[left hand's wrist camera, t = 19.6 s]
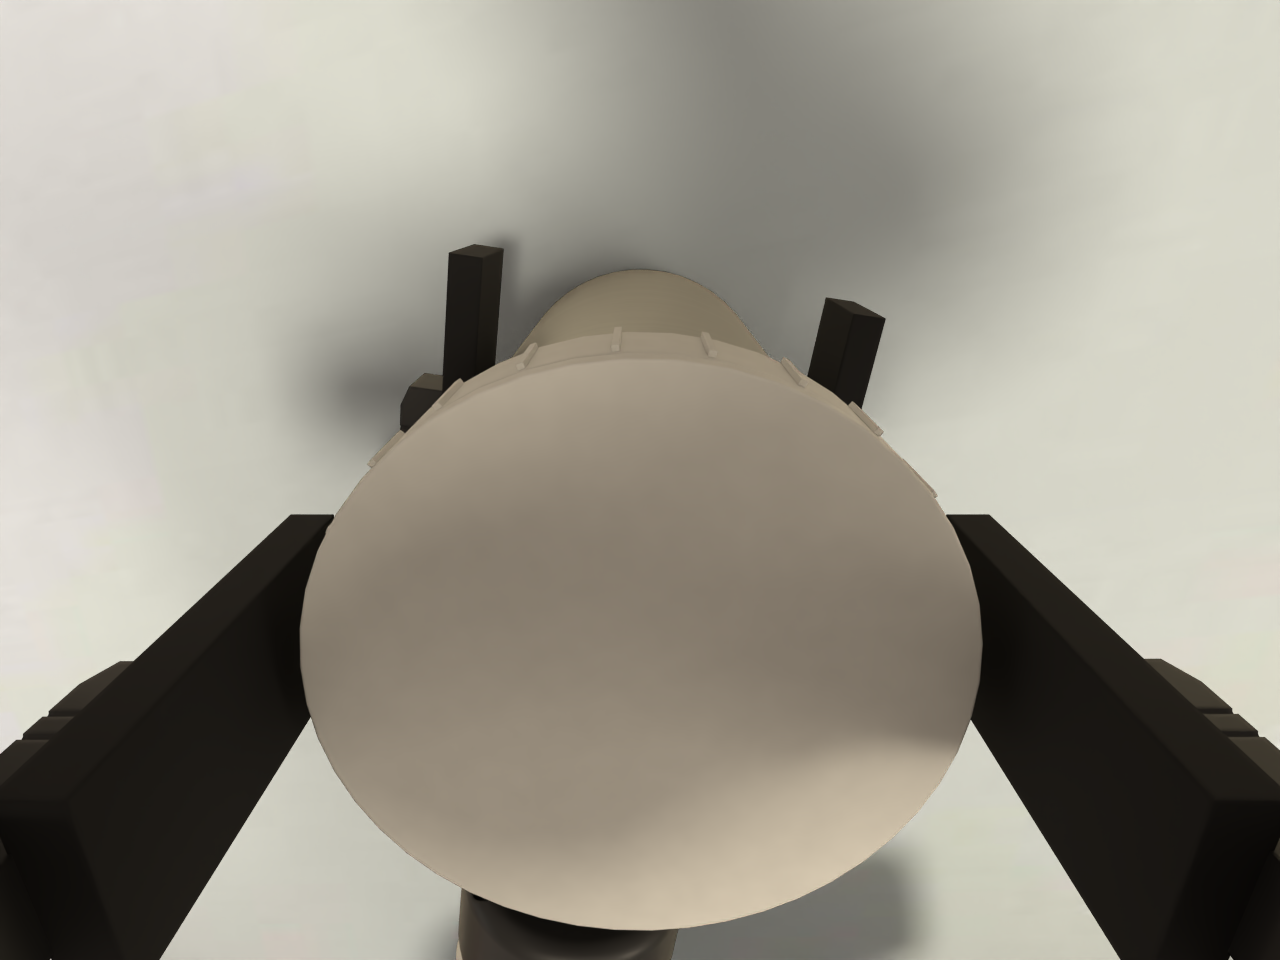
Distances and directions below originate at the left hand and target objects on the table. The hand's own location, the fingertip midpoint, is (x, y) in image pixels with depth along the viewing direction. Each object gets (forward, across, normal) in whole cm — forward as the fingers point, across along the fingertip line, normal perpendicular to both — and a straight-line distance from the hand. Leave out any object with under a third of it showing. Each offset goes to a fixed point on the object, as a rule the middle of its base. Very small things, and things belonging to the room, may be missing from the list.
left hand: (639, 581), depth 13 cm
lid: (-3, 0, 0) cm, 3 cm away
